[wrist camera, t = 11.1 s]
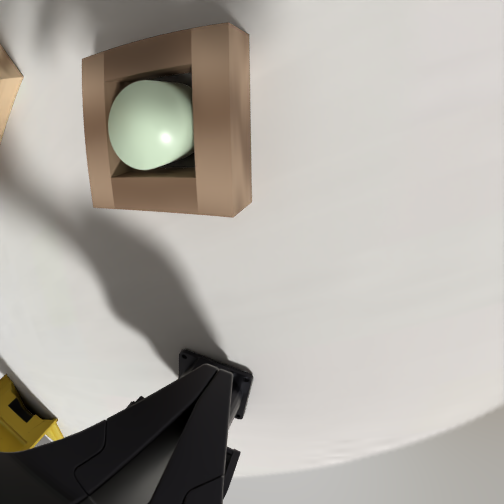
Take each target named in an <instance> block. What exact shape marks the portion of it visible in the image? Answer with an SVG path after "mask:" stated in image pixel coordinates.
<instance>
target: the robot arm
mask: <svg viewBox="0 0 504 504" xmlns="http://www.w3.org/2000/svg"><path fill="white" fill-rule="evenodd" d="M246 378H247V379H246ZM252 382H253V376H252V375H251V374H249V373H247V372H244V371H241V370H238V369H236V368H233V367H230V366H227V365H225V364H222V363H219V362H217V361H214V360H211V359H209V358H206V357H204V356H201V355H198V354H196V353H193V352H191V351H188V350H185V349H183V350H182V351H181V352H180V354H179V379H178V380H176V381H174V382H172V383H171V384H169V385H167V386H166V387H164V388H162V389H160V390H158V391H157V392H155V393H153V394H151V395H150V396H148V397H146V398H144V397H142V396H140V397H139V399H138V400H137V401H136V402H135V401H133V402H131V403H130V404H129V405H128V407H127V408H126V409H124V410H122V411H120V412H118V413H117V414H115V415H113V416H111V417H109V418H107V421H106V420H103V421H101V422H99V423H97V424H95V425H93V426H91V427H89V428H87V429H85V430H83V431H80V432H78V433H76V434H73V435H70V436H68V437H65V438H62V439H59V440H56V441H53V442H50V443H47V444H44V445H41V446H38V447H34V448H31V449H28V450H24V451H18V452H0V504H223V499H224V497H225V495H226V493H227V490H228V488H229V485H230V482H231V479H232V476H233V473H234V471H235V468H236V465H237V462H238V459H239V456H240V451H238V450H236V449H234V450H233V449H231V448H229V447H227V438H228V429H229V427H230V425H231V423H232V421H233V419H234V418H237V419H242V418H243V416H244V414H245V410H246V406H247V402H248V398H249V394H250V390H251V386H252Z"/></svg>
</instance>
